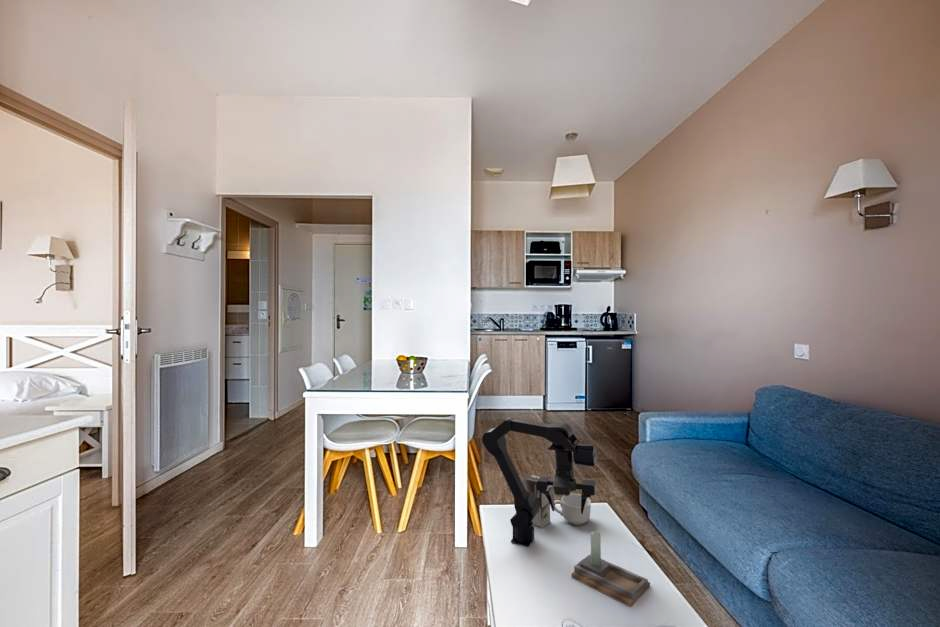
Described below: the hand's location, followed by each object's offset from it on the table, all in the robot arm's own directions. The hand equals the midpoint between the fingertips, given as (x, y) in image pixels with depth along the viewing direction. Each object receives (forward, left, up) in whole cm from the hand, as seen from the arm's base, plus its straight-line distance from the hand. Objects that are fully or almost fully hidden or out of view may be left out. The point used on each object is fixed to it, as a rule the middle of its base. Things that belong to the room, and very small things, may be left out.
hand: (567, 512), depth 139 cm
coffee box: (-16, +16, -13) cm, 26 cm away
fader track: (+15, -10, -13) cm, 22 cm away
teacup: (-4, +22, -13) cm, 25 cm away
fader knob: (+10, -9, -12) cm, 18 cm away
